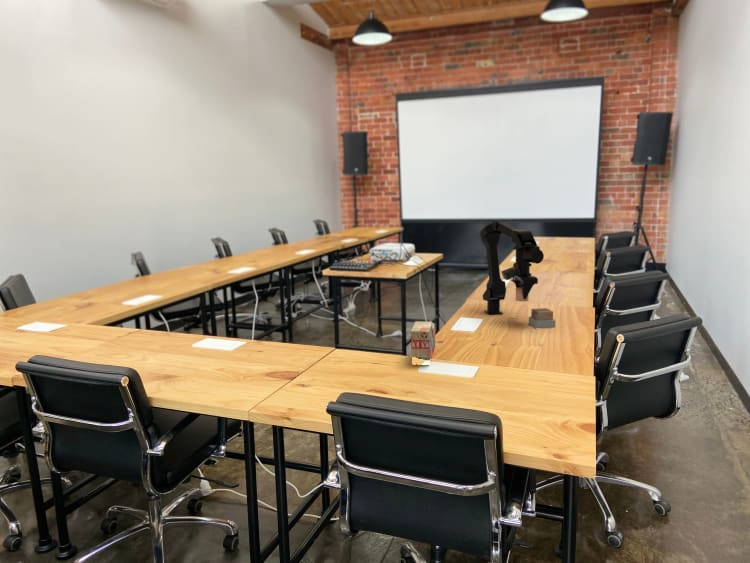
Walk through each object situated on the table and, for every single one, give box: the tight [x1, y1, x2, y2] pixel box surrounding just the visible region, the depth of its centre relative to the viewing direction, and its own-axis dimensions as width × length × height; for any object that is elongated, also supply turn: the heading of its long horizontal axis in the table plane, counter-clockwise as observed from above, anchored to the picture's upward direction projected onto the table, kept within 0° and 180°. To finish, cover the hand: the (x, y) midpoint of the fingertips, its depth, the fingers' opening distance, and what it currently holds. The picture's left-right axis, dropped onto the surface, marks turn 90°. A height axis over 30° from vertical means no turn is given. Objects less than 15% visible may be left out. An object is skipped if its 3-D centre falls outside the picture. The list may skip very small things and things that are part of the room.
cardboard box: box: [410, 321, 436, 360], centre depth 191 cm, size 21×6×12 cm, turn 169°
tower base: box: [528, 316, 556, 329], centre depth 227 cm, size 8×8×4 cm
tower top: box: [530, 307, 554, 321], centre depth 226 cm, size 6×6×4 cm
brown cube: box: [515, 287, 530, 302], centre depth 228 cm, size 5×5×5 cm
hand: (522, 297), depth 228 cm, fingers closed on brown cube, 5 cm apart
